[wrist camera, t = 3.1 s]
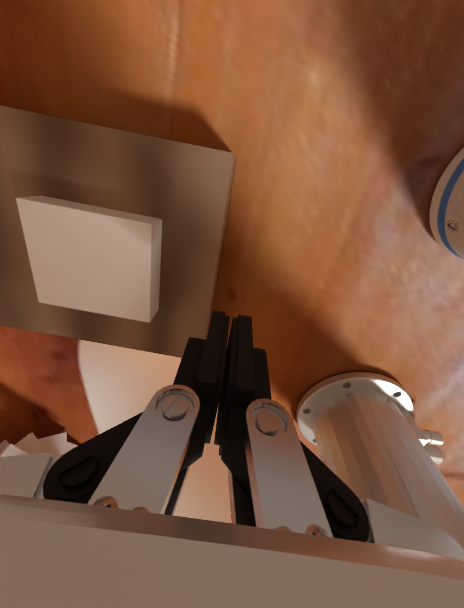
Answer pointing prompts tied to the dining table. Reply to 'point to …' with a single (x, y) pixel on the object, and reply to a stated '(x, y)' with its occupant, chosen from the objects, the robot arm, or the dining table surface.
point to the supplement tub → (449, 208)
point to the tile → (93, 257)
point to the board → (123, 197)
